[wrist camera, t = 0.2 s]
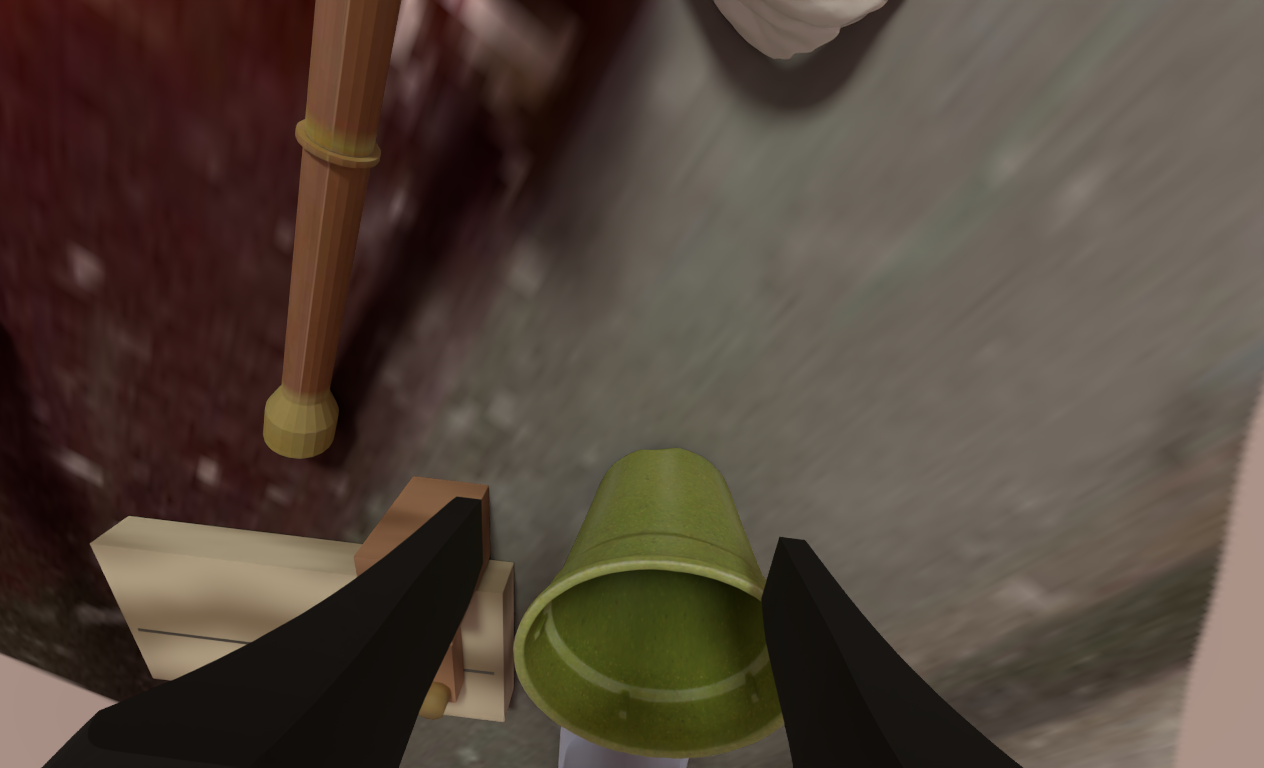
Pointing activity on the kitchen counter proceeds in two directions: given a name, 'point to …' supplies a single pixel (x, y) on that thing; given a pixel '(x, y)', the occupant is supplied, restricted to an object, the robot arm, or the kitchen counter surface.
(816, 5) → the pale grey rock
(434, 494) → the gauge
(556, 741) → the kitchen counter surface
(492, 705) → the board
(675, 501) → the plant pot
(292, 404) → the hammer
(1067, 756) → the kitchen counter surface
